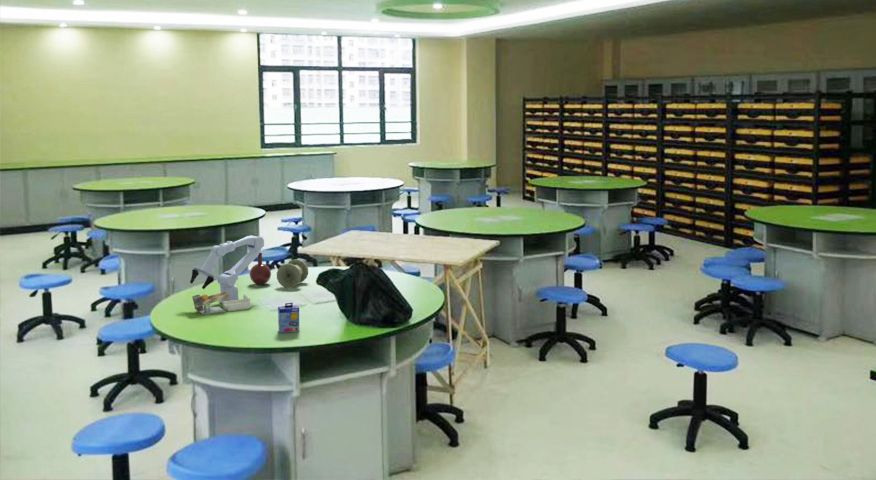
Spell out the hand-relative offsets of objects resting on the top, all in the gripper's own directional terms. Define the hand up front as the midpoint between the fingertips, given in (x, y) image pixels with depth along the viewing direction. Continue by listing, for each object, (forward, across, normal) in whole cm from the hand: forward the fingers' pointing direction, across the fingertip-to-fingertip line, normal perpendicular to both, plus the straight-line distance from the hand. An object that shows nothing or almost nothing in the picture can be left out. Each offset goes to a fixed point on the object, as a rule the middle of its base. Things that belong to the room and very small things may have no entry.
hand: (196, 285), depth 417 cm
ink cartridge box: (+8, +68, -35) cm, 77 cm away
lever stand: (+10, +15, -1) cm, 18 cm away
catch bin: (+1, +24, +5) cm, 25 cm away
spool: (-36, +30, +57) cm, 74 cm away
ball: (+5, +10, -6) cm, 13 cm away
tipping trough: (+6, +13, 0) cm, 14 cm away
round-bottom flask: (-28, +11, +58) cm, 66 cm away
